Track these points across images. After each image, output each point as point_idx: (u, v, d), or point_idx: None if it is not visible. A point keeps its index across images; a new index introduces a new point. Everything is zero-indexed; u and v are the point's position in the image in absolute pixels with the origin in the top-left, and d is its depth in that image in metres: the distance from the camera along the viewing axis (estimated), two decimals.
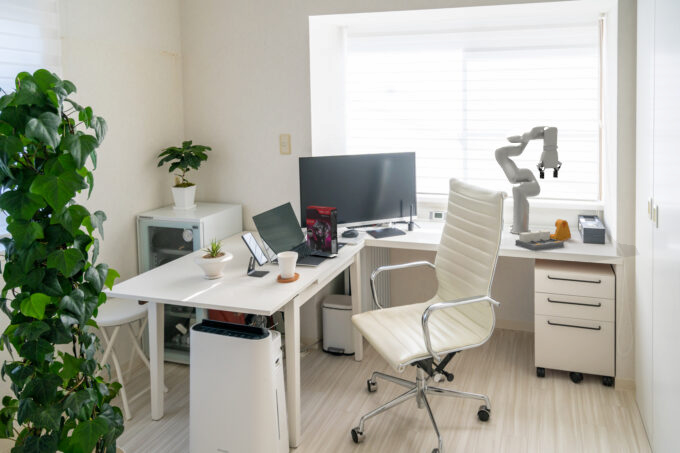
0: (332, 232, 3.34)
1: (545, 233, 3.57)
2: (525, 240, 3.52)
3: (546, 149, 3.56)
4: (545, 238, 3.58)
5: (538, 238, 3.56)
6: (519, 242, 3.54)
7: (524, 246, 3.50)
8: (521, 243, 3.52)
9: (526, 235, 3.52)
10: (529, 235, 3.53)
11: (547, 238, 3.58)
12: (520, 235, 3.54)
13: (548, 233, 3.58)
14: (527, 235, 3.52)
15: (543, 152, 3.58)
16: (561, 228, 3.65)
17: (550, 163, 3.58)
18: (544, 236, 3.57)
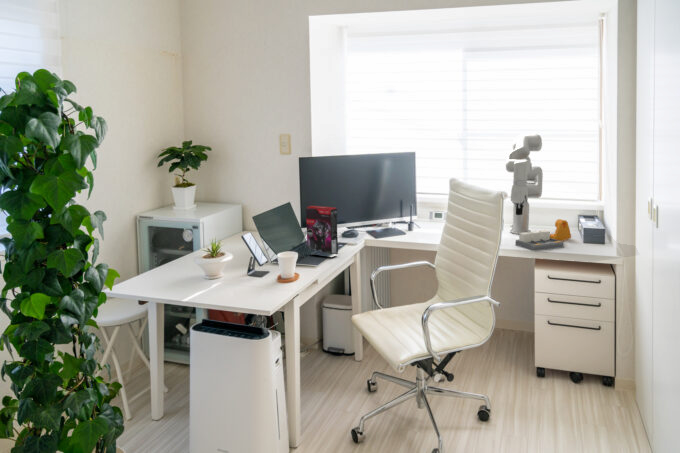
0: (332, 232, 3.34)
1: (545, 233, 3.57)
2: (525, 240, 3.52)
3: (525, 183, 3.52)
4: (545, 238, 3.58)
5: (538, 238, 3.56)
6: (519, 242, 3.54)
7: (524, 246, 3.50)
8: (521, 243, 3.52)
9: (526, 235, 3.52)
10: (529, 235, 3.53)
11: (547, 238, 3.58)
12: (520, 235, 3.54)
13: (548, 233, 3.58)
14: (527, 235, 3.52)
15: (524, 187, 3.50)
16: (561, 228, 3.65)
17: None
18: (544, 236, 3.57)
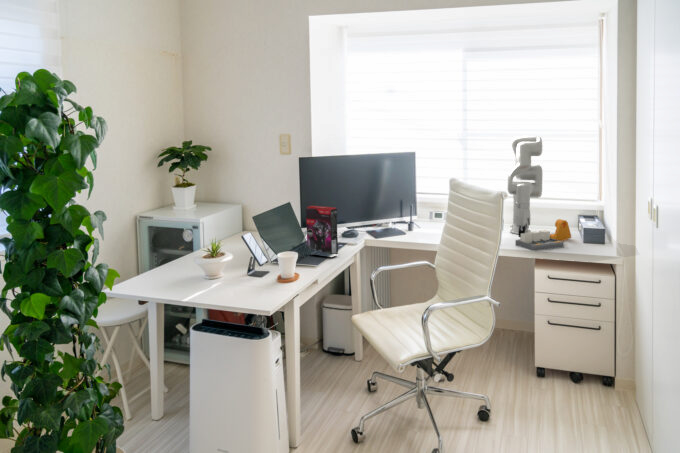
0: (332, 232, 3.34)
1: (545, 233, 3.57)
2: (526, 240, 3.51)
3: (528, 206, 3.51)
4: (545, 238, 3.58)
5: (538, 238, 3.56)
6: (519, 242, 3.54)
7: (524, 246, 3.50)
8: (521, 243, 3.52)
9: (527, 235, 3.51)
10: (530, 235, 3.52)
11: (547, 238, 3.58)
12: (521, 235, 3.53)
13: (548, 233, 3.58)
14: (528, 235, 3.51)
15: (527, 210, 3.50)
16: (561, 228, 3.65)
17: None
18: (544, 236, 3.57)
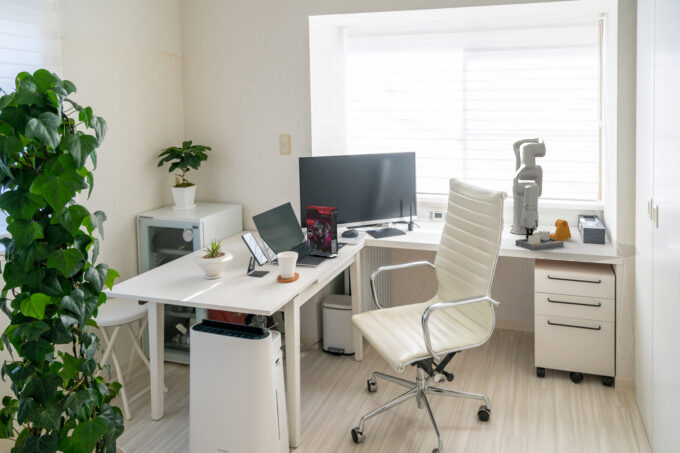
0: (332, 232, 3.34)
1: (545, 233, 3.57)
2: (534, 243, 3.45)
3: (536, 208, 3.45)
4: (545, 238, 3.58)
5: None
6: (519, 242, 3.54)
7: (524, 246, 3.50)
8: (521, 243, 3.52)
9: (535, 238, 3.45)
10: (538, 238, 3.46)
11: (547, 238, 3.58)
12: (529, 238, 3.47)
13: (548, 233, 3.58)
14: (536, 238, 3.45)
15: (535, 211, 3.44)
16: (561, 228, 3.65)
17: None
18: (544, 236, 3.57)
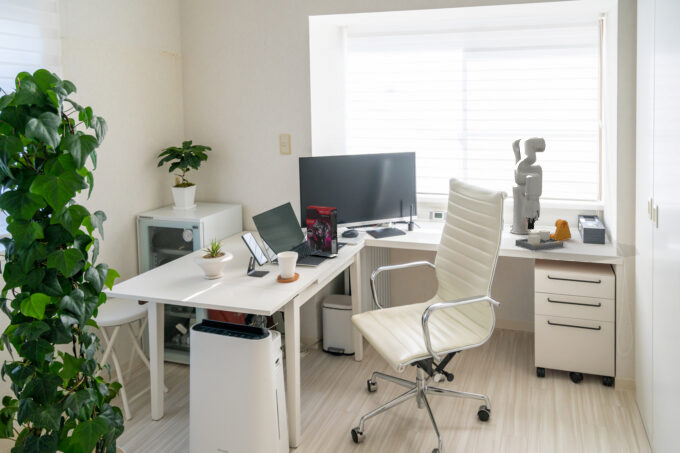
0: (332, 232, 3.34)
1: (545, 233, 3.57)
2: (534, 243, 3.46)
3: (538, 198, 3.43)
4: (545, 238, 3.58)
5: None
6: (519, 242, 3.54)
7: (524, 246, 3.50)
8: (521, 243, 3.52)
9: (535, 238, 3.45)
10: (538, 238, 3.46)
11: (547, 238, 3.58)
12: (529, 238, 3.47)
13: (548, 233, 3.58)
14: (536, 238, 3.45)
15: (536, 202, 3.42)
16: (561, 228, 3.65)
17: None
18: (544, 236, 3.57)
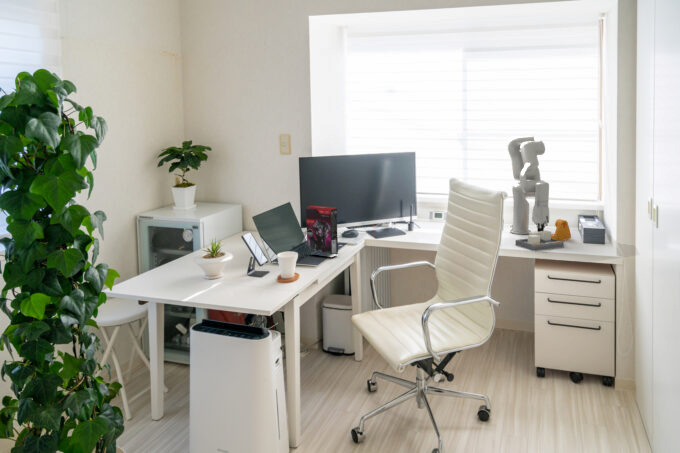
0: (332, 232, 3.34)
1: (546, 233, 3.56)
2: (534, 243, 3.46)
3: (547, 204, 3.56)
4: (546, 238, 3.57)
5: None
6: (519, 242, 3.54)
7: (524, 246, 3.50)
8: (521, 243, 3.52)
9: (535, 238, 3.45)
10: (538, 238, 3.46)
11: (548, 238, 3.57)
12: (529, 238, 3.47)
13: (549, 233, 3.57)
14: (536, 238, 3.45)
15: (546, 208, 3.55)
16: (561, 228, 3.65)
17: None
18: (545, 236, 3.56)
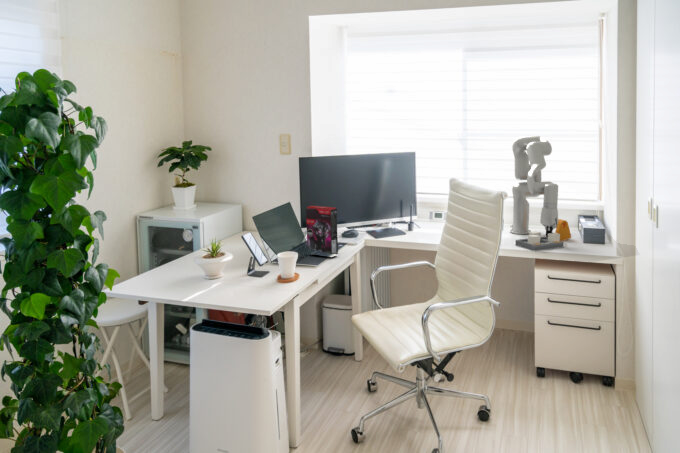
0: (332, 232, 3.34)
1: (555, 236, 3.49)
2: (534, 243, 3.46)
3: (556, 206, 3.49)
4: (555, 241, 3.50)
5: None
6: (519, 242, 3.54)
7: (524, 246, 3.50)
8: (521, 243, 3.52)
9: (535, 238, 3.45)
10: (538, 238, 3.46)
11: None
12: (529, 238, 3.47)
13: (558, 236, 3.50)
14: (536, 238, 3.45)
15: (555, 210, 3.48)
16: (561, 228, 3.65)
17: None
18: (554, 239, 3.49)
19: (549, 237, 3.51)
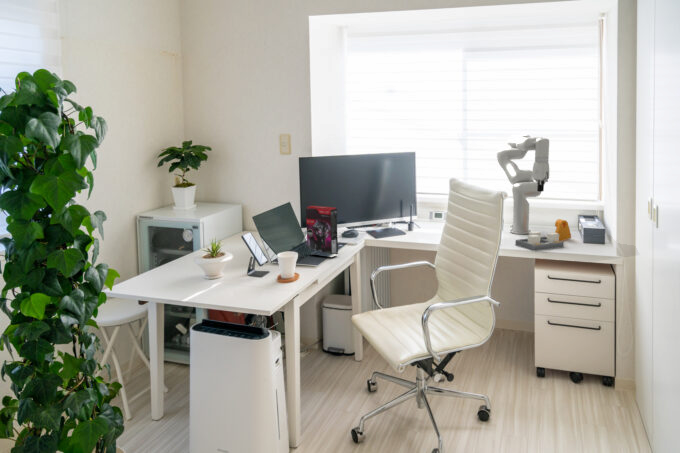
0: (332, 232, 3.34)
1: (554, 235, 3.50)
2: (534, 243, 3.46)
3: (547, 160, 3.57)
4: (554, 241, 3.51)
5: None
6: (519, 242, 3.54)
7: (524, 246, 3.50)
8: (521, 243, 3.52)
9: (535, 238, 3.45)
10: (538, 238, 3.46)
11: None
12: (529, 238, 3.47)
13: (557, 235, 3.51)
14: (536, 238, 3.45)
15: (546, 163, 3.56)
16: (561, 228, 3.65)
17: None
18: (553, 239, 3.50)
19: (548, 237, 3.52)
